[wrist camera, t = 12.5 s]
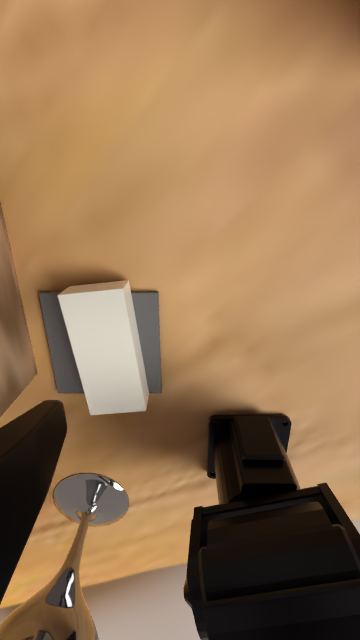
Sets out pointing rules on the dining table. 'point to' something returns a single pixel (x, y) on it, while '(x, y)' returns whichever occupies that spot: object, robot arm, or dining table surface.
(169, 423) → the dining table surface
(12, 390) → the rectangular frame
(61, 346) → the mat
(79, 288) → the block
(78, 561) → the wine glass
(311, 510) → the robot arm
